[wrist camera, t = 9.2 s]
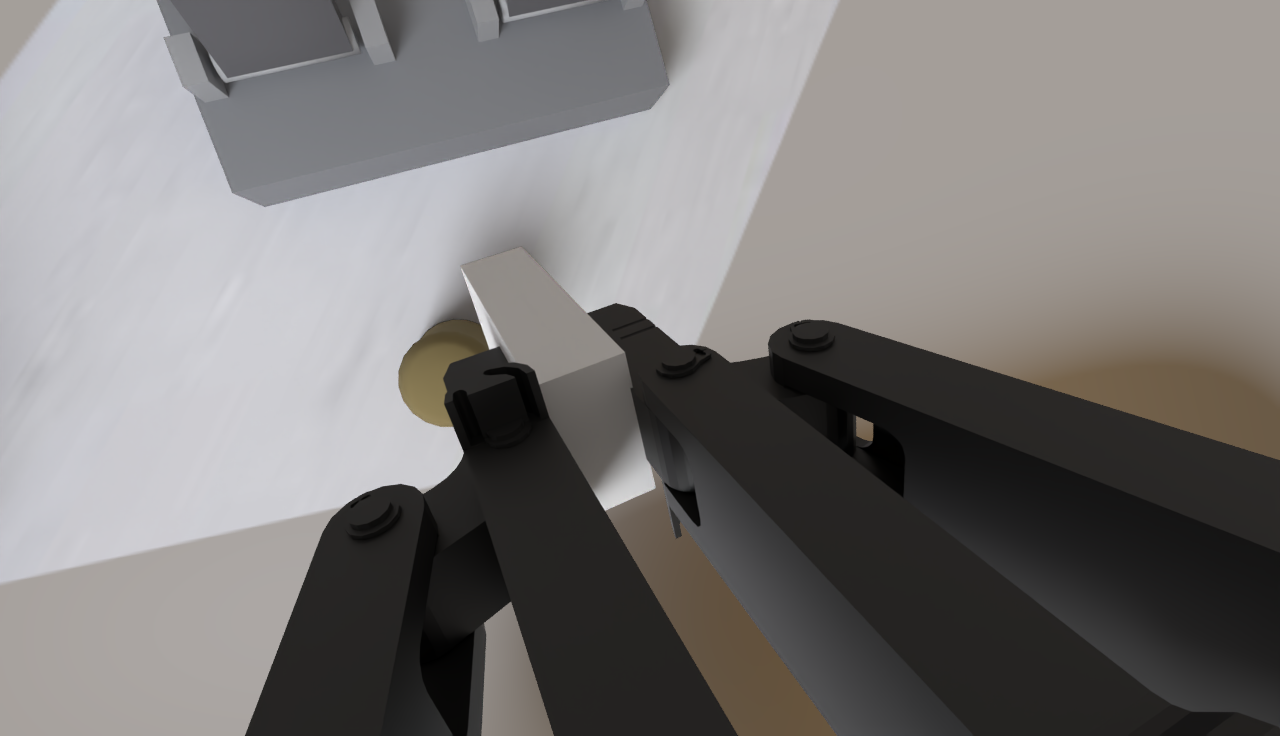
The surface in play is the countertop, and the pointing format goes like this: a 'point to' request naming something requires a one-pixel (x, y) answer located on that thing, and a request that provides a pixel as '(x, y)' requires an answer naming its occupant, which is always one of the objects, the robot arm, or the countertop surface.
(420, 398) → the cork
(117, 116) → the countertop surface
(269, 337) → the countertop surface
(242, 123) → the switch block
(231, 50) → the cream lever
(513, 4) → the amber lever
